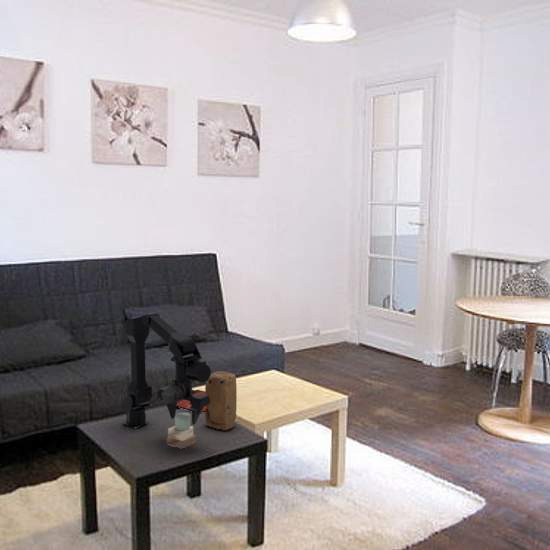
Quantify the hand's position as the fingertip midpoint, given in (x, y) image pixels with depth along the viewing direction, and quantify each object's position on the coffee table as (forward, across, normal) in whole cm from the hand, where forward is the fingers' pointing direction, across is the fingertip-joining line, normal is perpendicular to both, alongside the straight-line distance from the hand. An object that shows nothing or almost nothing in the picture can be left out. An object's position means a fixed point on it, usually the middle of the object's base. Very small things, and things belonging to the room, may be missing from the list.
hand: (183, 421), depth 214 cm
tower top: (+5, -1, 0) cm, 5 cm away
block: (+8, 0, +20) cm, 22 cm away
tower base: (+8, -1, 0) cm, 8 cm away
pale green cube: (+2, 0, 0) cm, 2 cm away
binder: (+9, -23, +36) cm, 44 cm away
